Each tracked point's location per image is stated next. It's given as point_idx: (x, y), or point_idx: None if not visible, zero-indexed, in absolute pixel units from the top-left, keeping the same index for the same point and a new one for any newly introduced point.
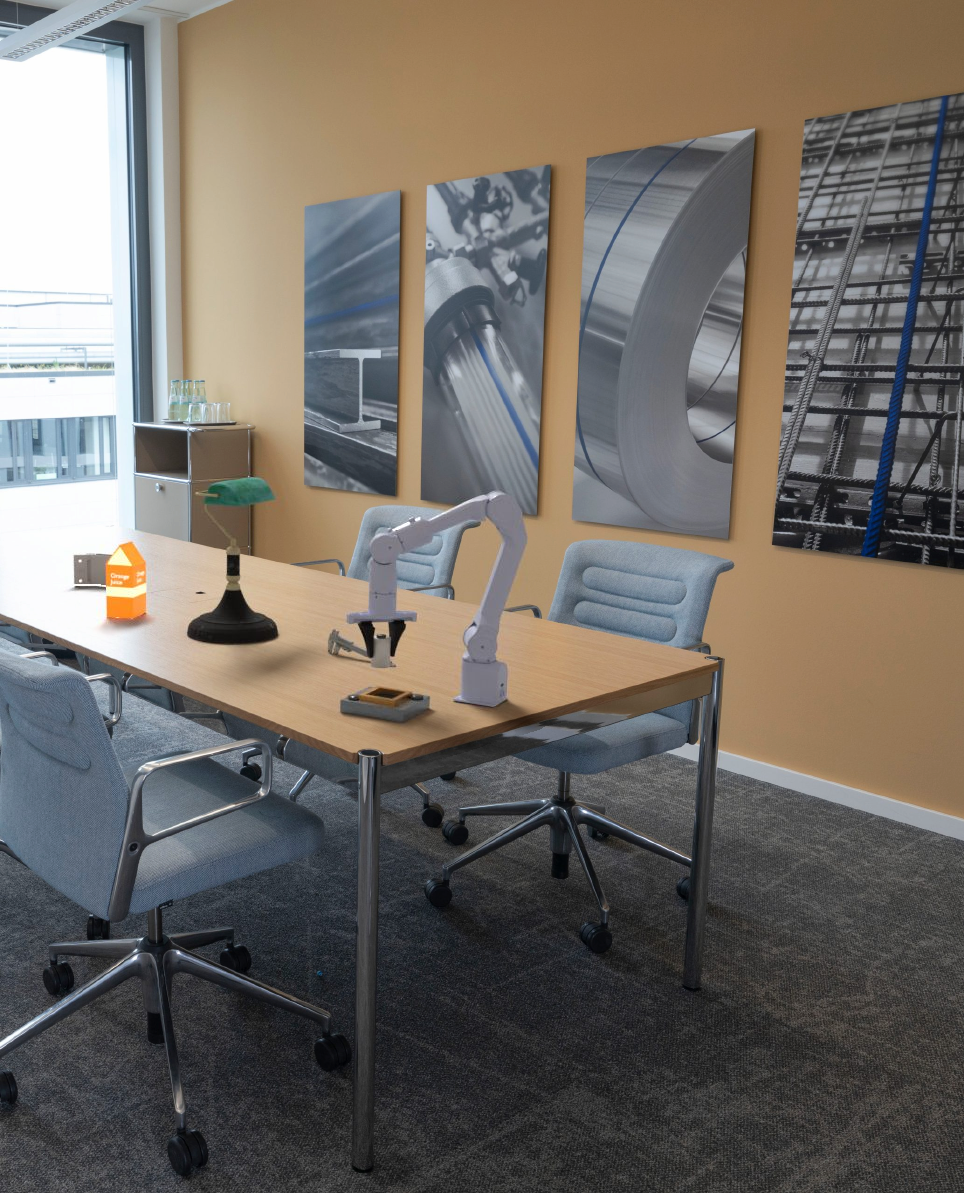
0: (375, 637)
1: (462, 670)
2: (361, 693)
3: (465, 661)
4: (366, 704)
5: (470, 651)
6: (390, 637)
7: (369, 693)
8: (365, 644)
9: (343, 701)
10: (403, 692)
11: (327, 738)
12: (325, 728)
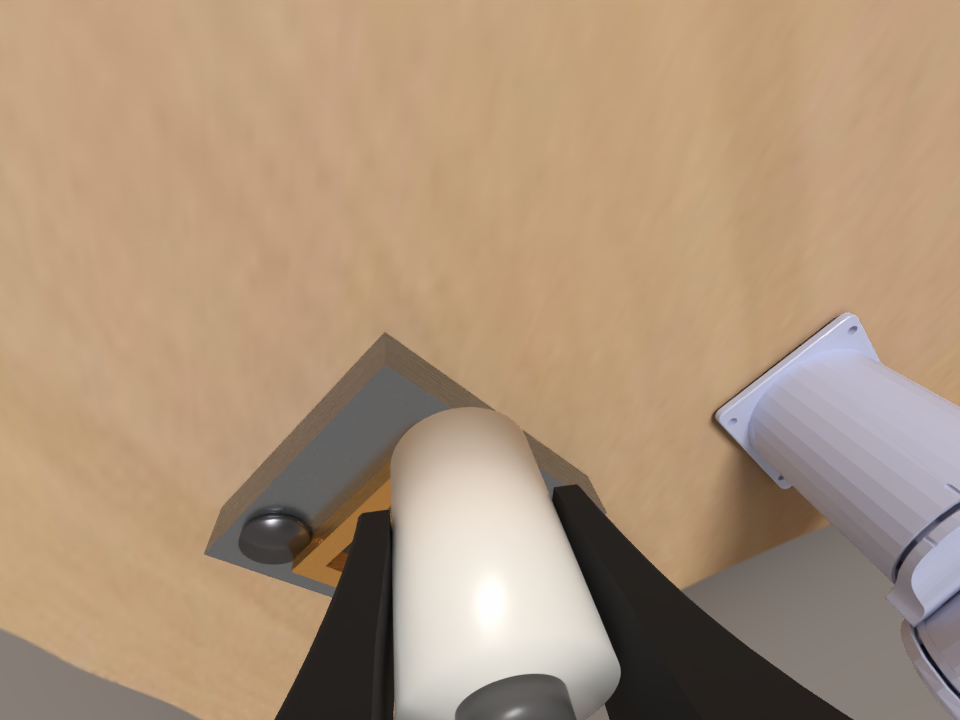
0: (447, 705)
1: (851, 499)
2: (319, 475)
3: (892, 561)
4: (323, 593)
5: (924, 682)
6: (616, 685)
7: (349, 540)
8: (329, 608)
9: (221, 556)
10: None
11: (184, 694)
12: (169, 640)
